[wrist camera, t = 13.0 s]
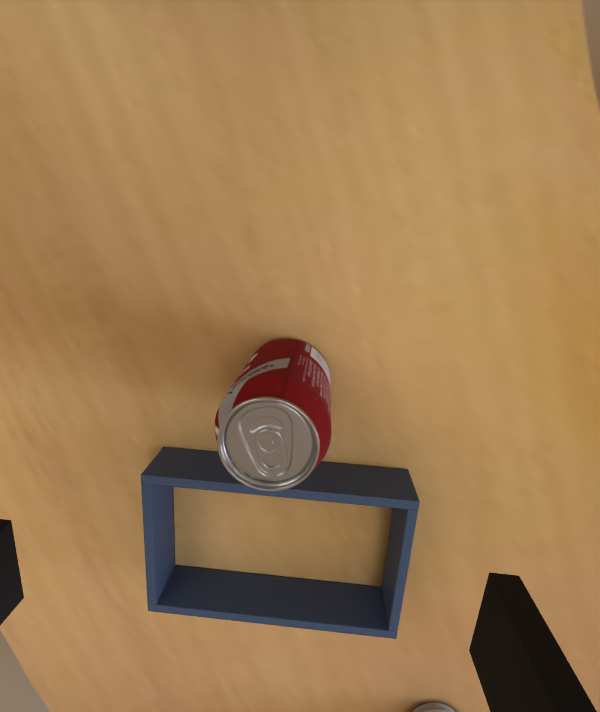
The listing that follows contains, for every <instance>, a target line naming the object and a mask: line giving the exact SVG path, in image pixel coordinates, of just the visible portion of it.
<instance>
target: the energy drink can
mask: <svg viewBox="0 0 600 712" xmlns="http://www.w3.org/2000/svg"><path fill="white" fill-rule="evenodd" d="M413 712H455V711H454V710H453V709H452V708H450V707H449V706H447V705H444V704H441V703H426V704H422V705H420V706H418V707H417V708H416V709H414V710H413Z"/></svg>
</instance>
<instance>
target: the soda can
mask: <svg viewBox="0 0 600 712" xmlns="http://www.w3.org/2000/svg"><path fill="white" fill-rule="evenodd" d="M215 435H216V440H217V446H218V452H219V456H220V459H221V461H222V463H223V465H224V466H225V468H226V469H227V471H228V472H229V473H230V474H231V475H232V476H233V477H234V478H235V479H237V480H238V481H239V482H241V483H243V484H244V485H246V486H248V487H251V488H254V489H257V490H262V491H281V490H285V489H288V488H291V487H293V486H296V485H297V484H299V483H301V482H302V481H303V480H304V479H306V478H307V477H308V476H309V474H310V473H311V472H312V470H313V469H315V468H316V467H317V466H318V464H319V463H320V462H321V461H322V459H323V458H324V456H325V454H326V452H327V450H328V447H329V444H330V440H331V399H330V372H329V368H328V365H327V363H326V361H325V359H324V357H323V356H322V355H321V353H320V352H319V351H318V350H317V349H316V348H315V347H313V346H312V345H310V344H309V343H307V342H305V341H302V340H299V339H294V338H280V339H275V340H272V341H270V342H268V343H266V344H264V345H263V346H261V347H260V348H259V349H258V350H257V351H256V352H255V353H254V355H253V356H252V358H251V359H250V361H249V362H248V363H247V365H246V366H245V368H244V369H243V371H242V372H241V374H240V375H239V377H238V378H237V379H236V381H235V382H234V384H233V385H232V387H231V388H230V390H229V391H228V393H227V394H226V396H225V397H224V398H223V400H222V402H221V404H220V406H219V408H218V411H217V414H216V419H215Z"/></svg>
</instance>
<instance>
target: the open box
mask: <svg viewBox="0 0 600 712" xmlns="http://www.w3.org/2000/svg"><path fill="white" fill-rule="evenodd" d="M141 483H142V484H141V485H142V504H143V524H144V543H145V562H146V581H147V600H148V611H153V612H162V613H171V614H180V615H189V616H198V617H206V618H215V619H224V620H233V621H242V622H251V623H260V624H269V625H278V626H286V627H295V628H304V629H313V630H322V631H331V632H340V633H349V634H358V635H366V636H375V637H384V638H393V639H396V637H397V631H398V625H399V619H400V613H401V607H402V601H403V596H404V590H405V584H406V578H407V572H408V566H409V560H410V554H411V549H412V543H413V537H414V531H415V525H416V519H417V513H418V508H419V502H420V501H419V499H418V496H417V493H416V490H415V488H414V485H413V482H412V479H411V477H410V474H409V471H408V469H397V468H386V467H375V466H365V465H354V464H343V463H332V462H320V463H319V464H318V466H317V467H316V468H315V469H313V470H312V472H311V473H310V474H309V476H308V477H307V478H306V479H304V480H303V481H302V482H301V483H299V484H297V485H296V486H293V487H291V488H288V489H285V490H281V491H262V490H257V489H254V488H251V487H248V486H246V485H244V484H243V483H241V482H239V481H238V480H237V479H235V478H234V477H233V476H232V475H231V474H230V473H229V472H228V471H227V469H226V468H225V466H224V465H223V463H222V461H221V459H220V456H219V452H213V451H202V450H191V449H180V448H169V447H163V448H162V450H161V451H160V452H159V453H158V455H157V456H156V457H155V458H154V459H153V461H152V462H151V463H150V464H149V466H148V467H147V468H146V469H145V470H144V472H143V473H142V474H141ZM173 487H183V488H194V489H204V490H214V491H224V492H235V493H245V494H255V495H266V496H276V497H286V498H297V499H307V500H317V501H328V502H338V503H348V504H358V505H369V506H379V507H389V508H393V512H392V519H391V526H390V532H389V539H388V546H387V552H386V559H385V566H384V573H383V579H382V586H381V587H374V586H365V585H355V584H346V583H336V582H327V581H318V580H308V579H299V578H290V577H280V576H271V575H261V574H252V573H243V572H233V571H224V570H214V569H205V568H196V567H186V566H177V565H175V539H174V502H173Z"/></svg>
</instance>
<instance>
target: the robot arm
mask: <svg viewBox="0 0 600 712" xmlns="http://www.w3.org/2000/svg"><path fill="white" fill-rule="evenodd" d="M23 598H24V596H23V590H22V584H21V577H20V571H19V565H18V559H17V553H16V547H15V541H14V535H13V529H12V523H11V520H3V519H0V625H1V624H2V623H3V621H4V620H5V619H6V618H7V617H8V616H9V614H10V613H11V612H12V611H13V610H14V609H15V607H16V606H17V605H18V604H19V603H20V602H21V600H22V599H23ZM469 651H470V654H471V657H472V660H473V662H474V665H475V668H476V671H477V674H478V677H479V680H480V683H481V686H482V688H483V691H484V694H485V697H486V700H487V703H488V706H489V709H490V712H597V711H596V710H595V708H594V706H593V704H592V703H591V701H590V699H589V697H588V696H587V694H586V692H585V690H584V689H583V687H582V685H581V683H580V682H579V680H578V678H577V676H576V675H575V673H574V671H573V669H572V668H571V666H570V664H569V662H568V661H567V659H566V657H565V655H564V654H563V652H562V650H561V648H560V647H559V645H558V643H557V641H556V640H555V638H554V636H553V634H552V633H551V631H550V629H549V627H548V626H547V624H546V622H545V620H544V619H543V617H542V615H541V614H540V612H539V610H538V608H537V607H536V605H535V603H534V601H533V600H532V598H531V596H530V594H529V593H528V591H527V589H526V587H525V586H524V584H523V582H522V580H521V579H520V577H519V576H516V575H507V574H498V573H489V576H488V580H487V584H486V588H485V591H484V595H483V599H482V603H481V607H480V611H479V615H478V618H477V622H476V626H475V630H474V634H473V638H472V642H471V645H470V649H469Z"/></svg>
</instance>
